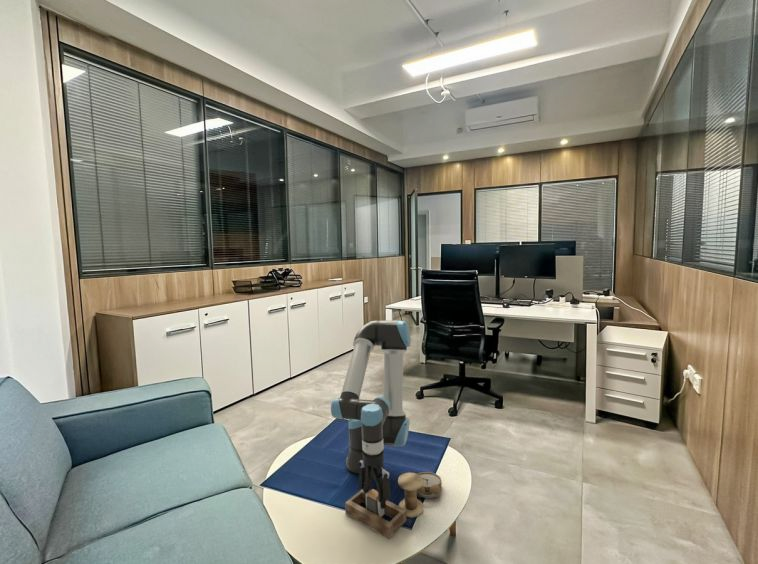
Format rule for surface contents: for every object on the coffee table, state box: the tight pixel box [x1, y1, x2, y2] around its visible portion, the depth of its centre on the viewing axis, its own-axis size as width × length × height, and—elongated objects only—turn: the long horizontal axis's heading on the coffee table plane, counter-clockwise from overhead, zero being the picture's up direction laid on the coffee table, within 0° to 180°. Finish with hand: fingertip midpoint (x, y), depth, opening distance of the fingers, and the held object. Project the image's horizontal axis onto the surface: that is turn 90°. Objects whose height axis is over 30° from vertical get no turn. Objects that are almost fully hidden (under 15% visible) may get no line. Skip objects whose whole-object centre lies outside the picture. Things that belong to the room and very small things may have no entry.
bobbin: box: [397, 472, 424, 518], centre depth 132 cm, size 9×9×11 cm
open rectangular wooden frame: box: [344, 489, 407, 539], centre depth 129 cm, size 20×10×4 cm, turn 51°
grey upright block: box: [367, 488, 384, 518], centre depth 128 cm, size 4×4×9 cm
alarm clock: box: [417, 471, 442, 499], centre depth 142 cm, size 11×5×15 cm
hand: (375, 512), depth 129 cm, fingers open, 5 cm apart
